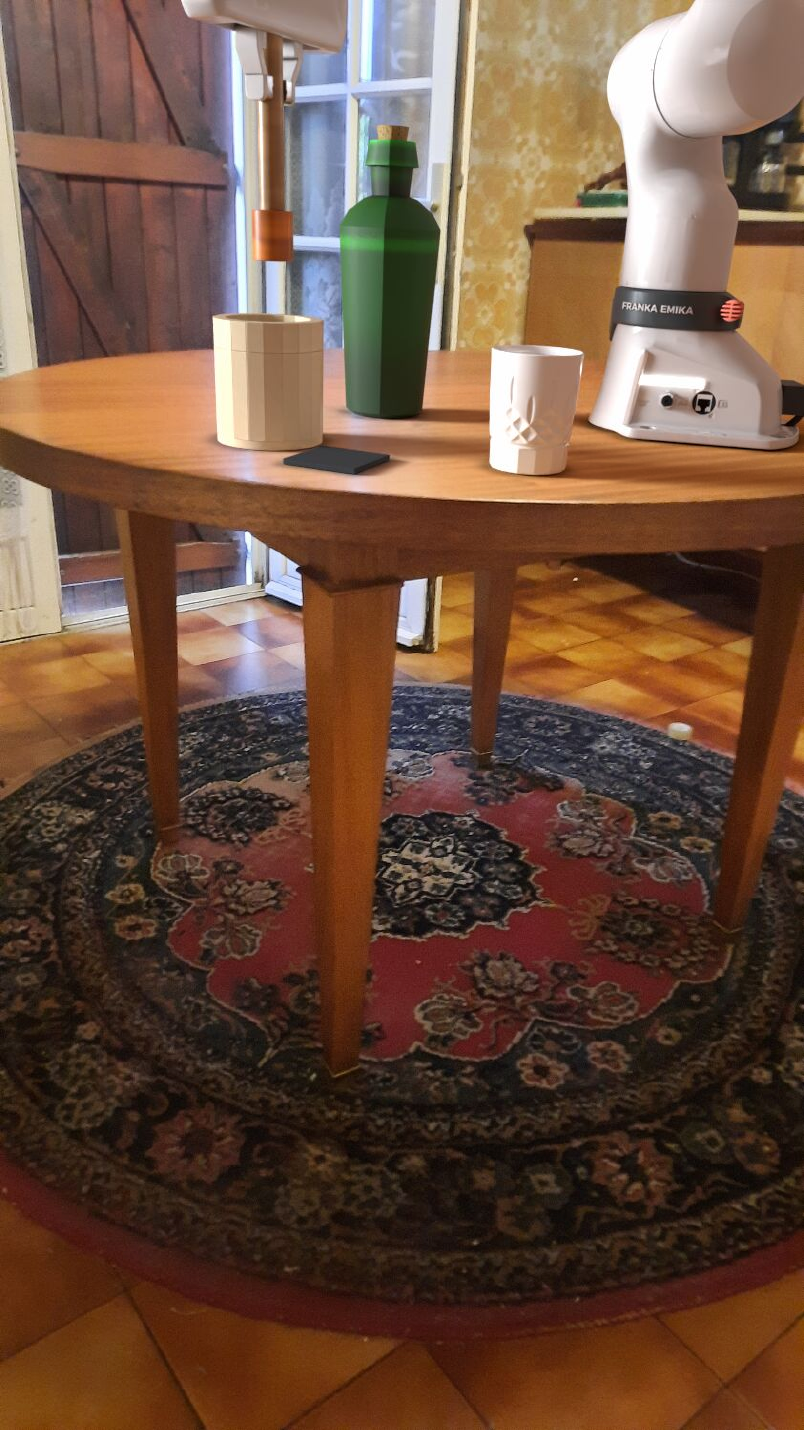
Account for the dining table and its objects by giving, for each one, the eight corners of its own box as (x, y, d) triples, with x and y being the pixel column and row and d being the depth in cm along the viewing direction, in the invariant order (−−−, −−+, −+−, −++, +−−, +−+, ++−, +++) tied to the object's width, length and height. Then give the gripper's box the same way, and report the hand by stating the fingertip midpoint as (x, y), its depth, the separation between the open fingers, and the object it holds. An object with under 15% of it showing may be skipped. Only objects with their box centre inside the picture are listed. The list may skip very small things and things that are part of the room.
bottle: (434, 408, 119) (448, 133, 107) (427, 423, 109) (442, 124, 97) (343, 402, 120) (348, 129, 108) (329, 418, 110) (332, 119, 98)
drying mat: (390, 460, 92) (390, 454, 92) (354, 474, 86) (354, 468, 86) (321, 451, 94) (322, 445, 94) (283, 464, 89) (282, 458, 88)
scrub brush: (300, 261, 92) (299, 37, 84) (280, 262, 89) (276, 29, 81) (266, 259, 93) (262, 38, 86) (245, 260, 90) (238, 31, 83)
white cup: (502, 478, 87) (512, 355, 83) (470, 459, 94) (478, 344, 89) (586, 476, 89) (600, 356, 85) (549, 457, 96) (560, 345, 92)
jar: (340, 438, 100) (342, 319, 96) (288, 455, 92) (287, 325, 87) (254, 426, 104) (251, 311, 99) (196, 442, 96) (190, 317, 91)
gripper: (226, -148, 70) (233, 87, 76) (361, -73, 87) (359, 115, 93) (151, -139, 72) (164, 88, 78) (297, -68, 89) (299, 115, 95)
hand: (271, 103), depth 86 cm, fingers closed on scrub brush, 2 cm apart
